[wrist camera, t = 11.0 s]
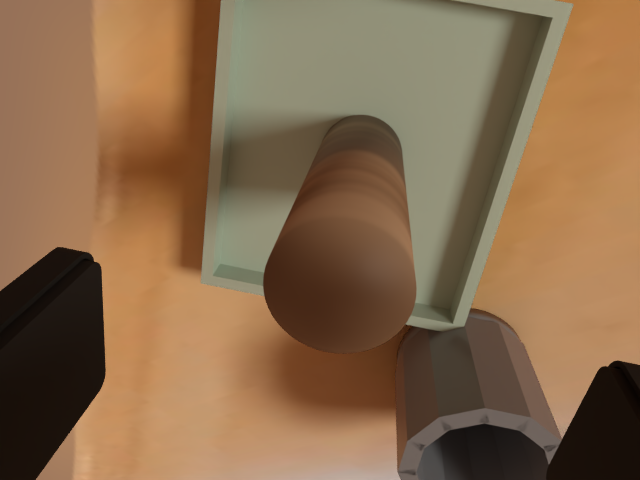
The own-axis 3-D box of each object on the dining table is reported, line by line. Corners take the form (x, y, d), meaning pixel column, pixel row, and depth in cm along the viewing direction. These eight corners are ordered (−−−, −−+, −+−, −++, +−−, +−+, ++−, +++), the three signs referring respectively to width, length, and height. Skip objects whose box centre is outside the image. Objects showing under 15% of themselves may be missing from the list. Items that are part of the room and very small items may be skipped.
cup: (412, 296, 29) (422, 395, 22) (542, 322, 29) (595, 430, 21) (385, 395, 32) (385, 510, 25) (501, 419, 32) (536, 543, 24)
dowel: (327, 107, 24) (272, 205, 13) (411, 123, 24) (433, 236, 13) (314, 186, 26) (255, 337, 14) (392, 201, 26) (397, 366, 14)
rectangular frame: (237, -53, 23) (224, -58, 21) (558, 3, 22) (573, 3, 20) (211, 266, 29) (200, 283, 28) (456, 314, 29) (461, 335, 27)
